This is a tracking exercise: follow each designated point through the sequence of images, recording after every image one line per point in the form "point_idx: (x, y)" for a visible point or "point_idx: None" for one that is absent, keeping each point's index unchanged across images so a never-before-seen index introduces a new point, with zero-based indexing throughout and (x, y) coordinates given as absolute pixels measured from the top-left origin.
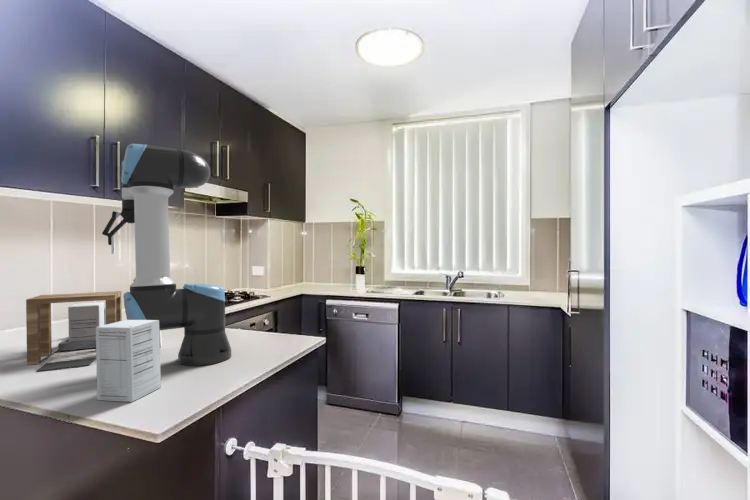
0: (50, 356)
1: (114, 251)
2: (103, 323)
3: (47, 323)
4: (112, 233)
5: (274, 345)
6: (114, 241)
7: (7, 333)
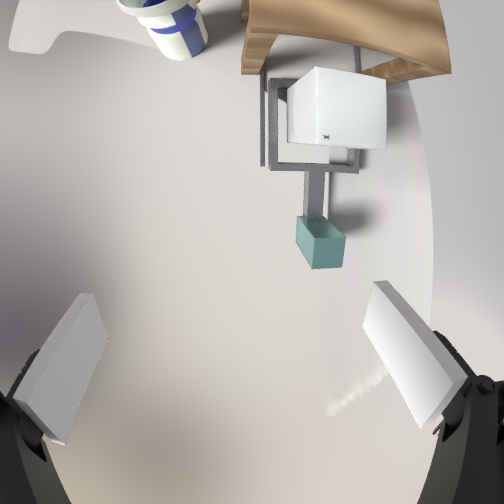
0: (355, 60)
1: (375, 314)
2: (297, 127)
3: (394, 60)
4: (477, 411)
5: (13, 29)
6: (413, 378)
7: (429, 311)
